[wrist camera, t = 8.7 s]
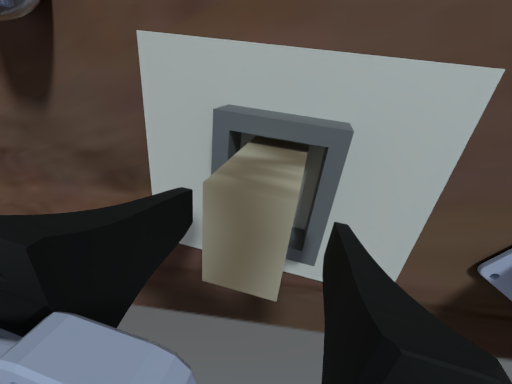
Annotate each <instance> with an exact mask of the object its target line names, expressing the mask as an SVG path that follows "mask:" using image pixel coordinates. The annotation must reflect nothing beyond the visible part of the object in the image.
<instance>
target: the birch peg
mask: <svg viewBox="0 0 512 384" xmlns="http://www.w3.org/2000/svg"><path fill="white" fill-rule="evenodd" d="M308 149H309V145H307V144H302V143H296V142H290V141H284V140H278V139H272V138H266V137H260V136H255V137H254V138H253V139H252V140H251V141H249V142H248V143H247V144H246V145H245V146H244V147H243V148H242V149H240V150H239V151H238V152H237V153H236V154H235V155H234V156H232V157H231V158H230V159H229V160H228V161H227V162H226V163H224V164H223V165H222V166H221V167H220V168H219V169H218V170H217V171H215V172H214V173H213V174H212V175H211V176H210V177H209V178H207V179H206V180H205V181H204V182H203V217H202V281H206V282H209V283H213V284H216V285H220V286H223V287H227V288H230V289H234V290H237V291H241V292H244V293H248V294H251V295H254V296H258V297H261V298H265V299H268V300H272V301H275V302H276V301H277V296H278V291H279V287H280V282H281V277H282V272H283V268H284V263H285V258H286V253H287V249H288V244H289V239H290V234H291V230H292V225H293V220H294V215H295V211H296V206H297V201H298V196H299V192H300V187H301V182H302V177H303V173H304V168H305V163H306V158H307V153H308Z"/></svg>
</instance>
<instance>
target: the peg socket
mask: <svg viewBox="0 0 512 384" xmlns="http://www.w3.org/2000/svg"><path fill="white" fill-rule="evenodd" d="M137 40H138V50H139V61H140V71H141V82H142V92H143V103H144V113H145V124H146V134H147V144H148V155H149V165H150V176H151V186H152V195H155V194H158V193H161V192H165V191H168V190H171V189H175V188H180V187H184V188H188V189H193V223H192V225H191V226H190V228H189V230H188V231H187V233H186V234H185V236H184V237H183V238H182V240H181V241H180V242H179V243H180V244H184V245H187V246H191V247H195V248H198V249H202V217H203V182H204V181H205V180H206V179H207V178H209V177H210V176H211V175H212V174H213V173H214V172H215V171H217V170H218V169H219V168H220V167H221V166H222V165H223V164H224V163H226V162H227V161H228V160H229V159H230V158H231V157H232V156H234V155H235V154H236V153H237V152H238V151H239V150H240V149H242V148H243V147H244V146H245V145H246V144H247V143H248V142H249V141H251V140H252V139H253V138H254V137H255V136H260V137H266V138H272V139H278V140H284V141H290V142H296V143H302V144H307V145H309V149H308V153H307V158H306V163H305V168H304V173H303V177H302V182H301V187H300V192H299V196H298V201H297V206H296V211H295V215H294V220H293V225H292V230H291V234H290V239H289V244H288V249H287V253H286V258H285V263H284V268H283V271H284V272H288V273H292V274H296V275H299V276H303V277H307V278H310V279H314V280H318V281H322V282H323V277H322V272H323V260H324V253H325V250H326V247H327V244H328V240H329V237H330V234H331V231H332V228H333V224H334V222H339V223H343V224H347V225H349V227H350V228H351V230H352V231H353V232H354V234H355V235H356V237H357V238H358V239H359V241H360V242H361V244H362V245H363V246H364V248H365V249H366V250H367V252H368V253H369V254H370V255H371V257H372V258H373V259H374V260H375V261H376V262H377V264H378V265H379V266H380V267H381V268H382V269H383V270H384V272H385V273H386V274H387V275H388V276H389V277H390V278H391V279H392V280H393V281H394V282H395V281H396V279H397V277H398V275H399V273H400V271H401V270H402V268H403V266H404V264H405V262H406V260H407V258H408V256H409V254H410V252H411V250H412V248H413V246H414V244H415V243H416V241H417V239H418V237H419V235H420V233H421V231H422V229H423V227H424V225H425V223H426V221H427V219H428V217H429V216H430V214H431V212H432V210H433V208H434V206H435V204H436V202H437V200H438V198H439V196H440V194H441V192H442V190H443V189H444V187H445V185H446V183H447V181H448V179H449V177H450V175H451V173H452V171H453V169H454V167H455V165H456V163H457V162H458V160H459V158H460V156H461V154H462V152H463V150H464V148H465V146H466V144H467V142H468V140H469V138H470V136H471V135H472V133H473V131H474V129H475V127H476V125H477V123H478V121H479V119H480V117H481V115H482V113H483V111H484V109H485V108H486V106H487V104H488V102H489V100H490V98H491V96H492V94H493V92H494V90H495V88H496V86H497V84H498V82H499V81H500V79H501V77H502V75H503V73H504V71H505V69H497V68H487V67H478V66H469V65H459V64H450V63H440V62H431V61H422V60H412V59H403V58H393V57H384V56H375V55H365V54H356V53H346V52H337V51H328V50H318V49H309V48H299V47H290V46H281V45H271V44H262V43H253V42H243V41H234V40H224V39H215V38H206V37H196V36H187V35H177V34H168V33H159V32H149V31H140V30H137Z"/></svg>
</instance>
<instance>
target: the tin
mask: <svg viewBox="0 0 512 384" xmlns="http://www.w3.org/2000/svg"><path fill="white" fill-rule="evenodd" d="M40 1H41V0H0V21H10V20H15V19H19V18H22V17H24V16H26V15H28V14H29V13H31V12H32V11H33V10H34V9H35V8H36V7H37V6H38V4H39V3H40Z"/></svg>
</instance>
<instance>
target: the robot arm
mask: <svg viewBox="0 0 512 384" xmlns="http://www.w3.org/2000/svg"><path fill="white" fill-rule="evenodd" d="M192 223H193V189H188V188H184V187H180V188H175V189H171V190H168V191H165V192H161V193H158V194H155V195H152V196H149V197H145V198H142V199H138V200H134V201H131V202H127V203H123V204H119V205H115V206H110V207H105V208H99V209H93V210H85V211H78V212H70V213H59V214H44V215H0V384H196V380H195V378H194V375H193V373H192V371H191V368H190V366H189V365H188V364H187V363H186V362H185V361H184V360H183V359H182V358H181V357H180V356H179V355H178V354H177V353H175V352H173V351H171V350H170V349H168V348H166V347H164V346H162V345H160V344H158V343H155V342H153V341H150V340H147V339H144V338H142V337H138V336H136V335H133V334H130V333H128V332H125V331H122V330H119V329H116V328H117V327H118V325H119V323H120V322H121V320H122V318H123V317H124V315H125V313H126V312H127V310H128V309H129V307H130V306H131V304H132V303H133V301H134V300H135V298H136V297H137V295H138V293H139V292H140V291H141V289H142V288H143V286H144V285H145V283H146V282H147V280H148V279H149V278H150V276H151V275H152V274H153V272H154V271H155V270H156V269H157V267H158V266H159V265H160V264H161V263H162V262H163V261H164V259H165V258H166V257H167V256H168V255H169V254H170V253H171V251H172V250H173V249H174V248H175V247H176V246H177V244H178V243H179V242H180V241H181V240H182V238H183V237H184V236H185V234H186V233H187V231H188V230H189V228H190V226H191V225H192ZM477 270H478V272H479V273H480V274H481V276H483V277H484V278H485V279H486V280H487V281H489V282H490V283H491V284H492V285H493V286H495V287H496V288H497V289H498V290H499V291H500V292H502V293H503V294H504V295H505V296H506V297H508V298H509V299H510V300H511V301H512V249H510V250H508V251H506V252H504V253H502V254H500V255H498V256H496V257H494V258H492V259H490V260H488V261H486V262H484V263H482V264H480V265H479V266H478V268H477ZM492 274H495V275H492ZM322 277H323V296H324V314H325V336H324V356H323V372H322V384H512V382H511V381H510V379H509V378H508V376H507V374H506V373H505V371H504V369H503V368H502V366H501V365H500V363H499V361H498V360H497V359H496V358H495V357H493V356H492V355H490V354H489V353H487V352H486V351H484V350H483V349H481V348H480V347H478V346H477V345H475V344H473V343H472V342H470V341H469V340H467V339H466V338H464V337H463V336H461V335H460V334H458V333H457V332H455V331H454V330H453V329H451V328H450V327H449V326H447V325H446V324H444V323H443V322H442V321H440V320H439V319H438V318H436V317H435V316H434V315H432V314H431V313H430V312H429V311H427V310H426V309H425V308H424V307H422V306H421V305H420V304H419V303H418V302H416V301H415V300H414V299H413V298H412V297H410V296H409V295H408V294H407V293H406V292H405V291H404V290H403V289H402V288H400V287H399V286H398V285H397V284H396V283H395V282H394V281H393V280H392V279H391V278H390V277H389V276H388V275H387V274H386V273H385V272H384V270H383V269H382V268H381V267H380V266H379V265H378V264H377V262H376V261H375V260H374V259H373V258H372V257H371V255H370V254H369V253H368V252H367V250H366V249H365V248H364V246H363V245H362V244H361V242H360V241H359V239H358V238H357V237H356V235H355V234H354V232H353V231H352V230H351V228H350V227H349V225H347V224H343V223H339V222H334V224H333V228H332V231H331V234H330V237H329V240H328V244H327V247H326V250H325V253H324V260H323V272H322Z"/></svg>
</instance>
